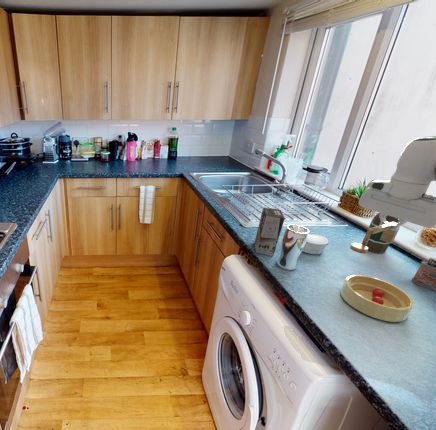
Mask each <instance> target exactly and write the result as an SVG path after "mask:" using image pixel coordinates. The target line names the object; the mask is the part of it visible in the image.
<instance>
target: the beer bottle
mask: <svg viewBox="0 0 436 430" xmlns="http://www.w3.org/2000/svg"><path fill="white" fill-rule="evenodd" d="M379 214H380V213H379V212H377V213H376V214H375V215H374V216H373V218H372V219H371V222H370V223H369V226H368V228H372V227H375V226H379V225H380V223H381V221H380V217H379ZM385 217H386V221H387V222H389V223H390V222H396V223H400V222H398V221H399V219H398V218H395V217H392V216H389V215H388V216H385ZM382 233H383V231H382V232H378V233H375V234H371V236H370V238H369V240H368V242H367V245H366V246H367V247H368V251H367V252H369V253H373V254H374V253H375V254H384V253H386V251H388V248H389V247H390V244H391V243H387V242H385V241H382V240H380V238H381V236H382ZM366 235H367V232H366V233H365V235H364V237H363V239H362V242H361V244H363V242H364V239H365V237H366Z"/></svg>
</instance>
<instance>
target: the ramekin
mask: <svg viewBox="0 0 436 430" xmlns="http://www.w3.org/2000/svg"><path fill="white" fill-rule="evenodd" d="M329 242H330V241H329V240H328V238H326V237H325V236H323V235H321V234H319V233H317V232H312V231H309V234H308V238H307V242H306V244H305V247H304V249H303V250H302V252H303V253H305V254H309V255H320V254H322V253H323V252H324V250H325V248H326V247H327V246H328V245H329Z"/></svg>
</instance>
